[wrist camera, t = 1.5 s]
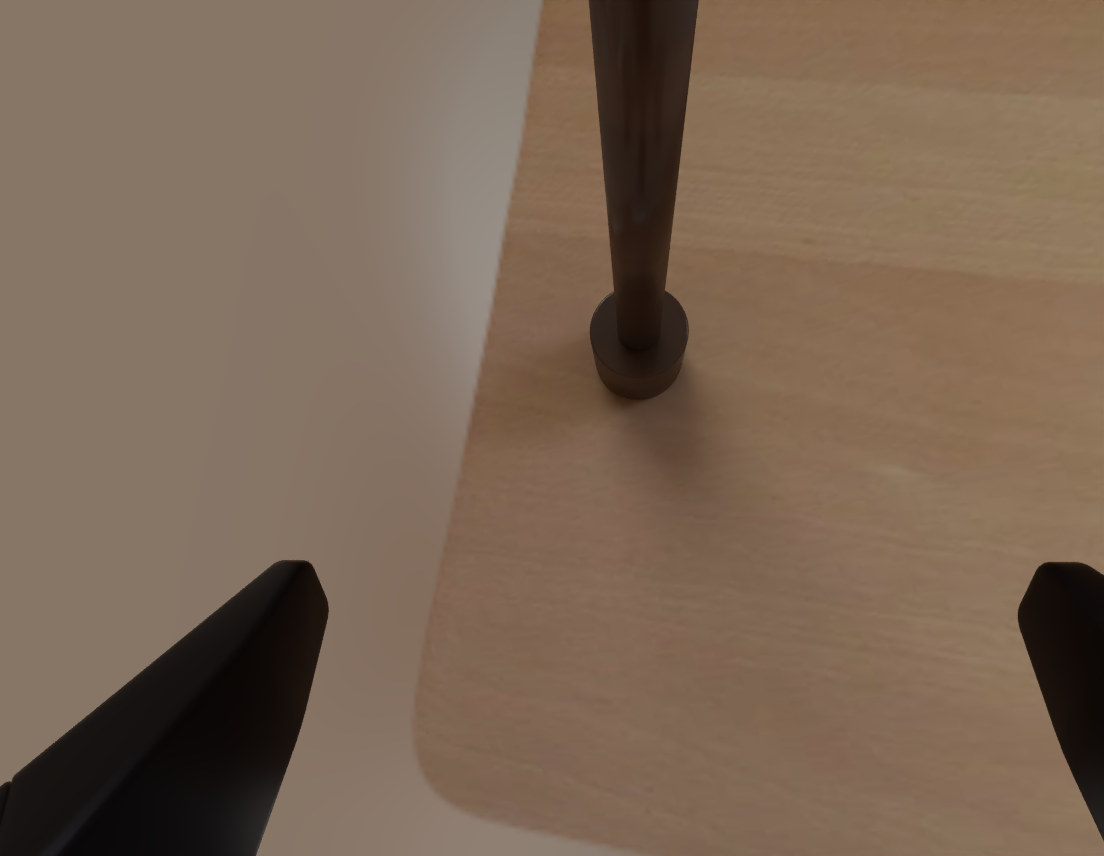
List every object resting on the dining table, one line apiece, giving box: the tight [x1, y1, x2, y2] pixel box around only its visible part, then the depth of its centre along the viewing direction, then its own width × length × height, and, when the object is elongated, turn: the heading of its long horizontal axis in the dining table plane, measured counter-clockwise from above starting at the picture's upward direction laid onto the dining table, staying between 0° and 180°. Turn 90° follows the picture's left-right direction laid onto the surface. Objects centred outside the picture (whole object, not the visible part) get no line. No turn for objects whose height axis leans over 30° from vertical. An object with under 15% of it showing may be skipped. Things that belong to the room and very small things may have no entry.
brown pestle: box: [589, 0, 698, 399], centre depth 14 cm, size 3×3×16 cm
